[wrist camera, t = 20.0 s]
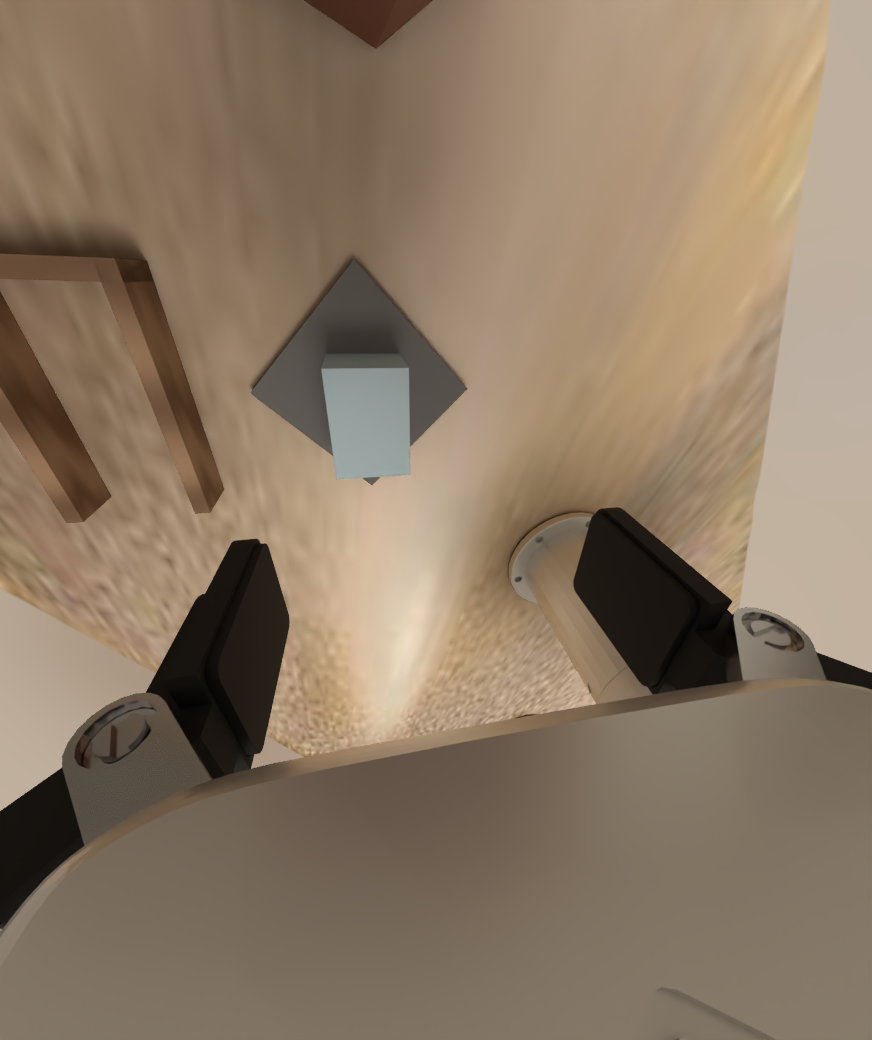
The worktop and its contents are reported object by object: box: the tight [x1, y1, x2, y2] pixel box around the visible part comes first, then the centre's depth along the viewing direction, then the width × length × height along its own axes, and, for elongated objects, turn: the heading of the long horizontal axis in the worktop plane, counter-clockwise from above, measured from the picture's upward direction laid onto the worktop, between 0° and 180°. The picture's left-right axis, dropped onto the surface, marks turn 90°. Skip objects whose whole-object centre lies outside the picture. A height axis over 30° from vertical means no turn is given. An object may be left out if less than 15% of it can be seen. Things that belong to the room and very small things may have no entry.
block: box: [321, 354, 410, 479], centre depth 25 cm, size 7×5×5 cm
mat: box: [251, 260, 467, 485], centre depth 27 cm, size 11×11×1 cm
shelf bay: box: [0, 254, 224, 523], centre depth 23 cm, size 15×9×4 cm, turn 178°
